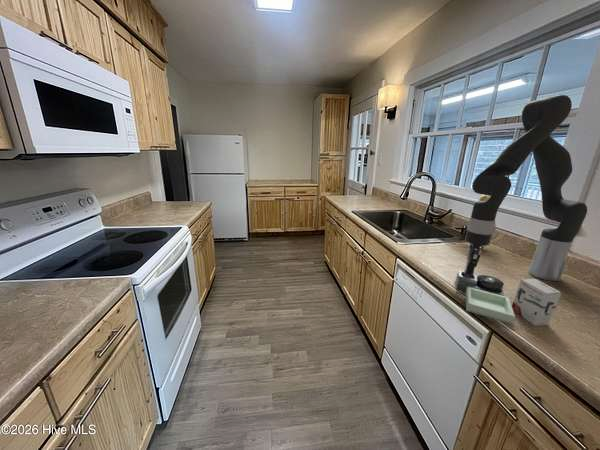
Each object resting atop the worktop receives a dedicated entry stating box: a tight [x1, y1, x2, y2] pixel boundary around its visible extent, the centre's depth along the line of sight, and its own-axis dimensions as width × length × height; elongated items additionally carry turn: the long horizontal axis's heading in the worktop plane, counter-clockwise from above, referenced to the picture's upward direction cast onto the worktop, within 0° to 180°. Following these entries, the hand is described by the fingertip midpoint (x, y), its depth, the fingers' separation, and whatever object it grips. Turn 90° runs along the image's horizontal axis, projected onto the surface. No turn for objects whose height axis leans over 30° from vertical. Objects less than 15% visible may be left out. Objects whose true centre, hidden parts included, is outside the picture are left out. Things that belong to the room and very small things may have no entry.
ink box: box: [511, 278, 562, 327], centre depth 77 cm, size 9×5×12 cm, turn 5°
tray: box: [464, 287, 516, 325], centre depth 82 cm, size 12×12×3 cm
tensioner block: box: [455, 269, 505, 296], centre depth 92 cm, size 14×10×6 cm
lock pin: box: [463, 255, 476, 278], centre depth 93 cm, size 3×3×10 cm
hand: (468, 272), depth 93 cm, fingers closed on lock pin, 3 cm apart
